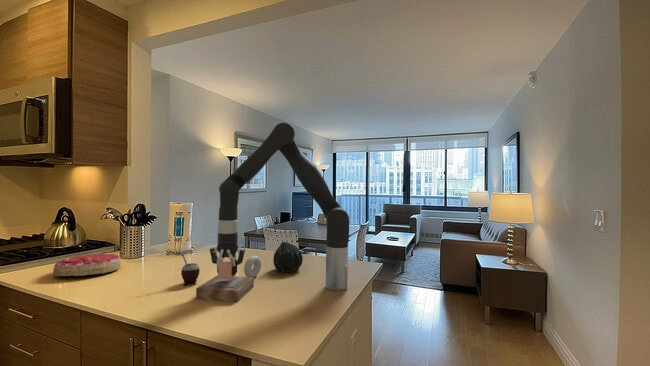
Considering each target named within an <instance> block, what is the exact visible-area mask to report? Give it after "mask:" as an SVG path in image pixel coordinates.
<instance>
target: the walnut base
mask: <svg viewBox="0 0 650 366" xmlns="http://www.w3.org/2000/svg"><path fill="white" fill-rule="evenodd" d="M254 284H255V277H247V276H238V275H236V276H234V277H233V278H232V279H218V274H217V275H215V276H214V277H212V278H211V279H209V280H207V281H206V282H204V283H203V284H202V283H201V285H199V286H198V287H196V288H195V289H196V290H195V300H203V301H215V302H216V301H217V302H218V301H219V302H229V303H230V302H231V303H238V302H239V301H240V300H242V299H243V298H244V297H245V296H246V295H247V294H249V292H250V291H251V290H252V289H253V288H254V287H255V285H254Z"/></svg>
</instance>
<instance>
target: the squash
mask: <svg viewBox="0 0 650 366" xmlns="http://www.w3.org/2000/svg"><path fill="white" fill-rule="evenodd" d="M303 260H304V259H303V254H302V252H301V250H300V249H299V247H298V246H295V245H294V244H292V243H290V242H286V241H282V242H281V243H280V244H279V246H278V247H277V248H276V250H275V252H274V253H273V266H274V268H275V269H276V270H277V271H278V272H282V273H287V272H288V273H293V272H294V271H296V270H299V268H300V267H301V266H302V264H303Z"/></svg>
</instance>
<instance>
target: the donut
mask: <svg viewBox="0 0 650 366" xmlns="http://www.w3.org/2000/svg"><path fill="white" fill-rule="evenodd" d="M261 268H262V261H261V258H260V257H259V256H257V255H251V256H249V257H247V259H246V261H245V263H244V267H243V273H244V275H245V277H254V278H256V277H257V275H259V273H260V271H261Z"/></svg>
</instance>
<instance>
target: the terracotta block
mask: <svg viewBox="0 0 650 366" xmlns="http://www.w3.org/2000/svg"><path fill="white" fill-rule="evenodd" d="M232 266H233V265H232V262H231V261H230V259H223V261H221V262H219V263H218V273H217V275H218V279H232V278H233V277H234V276H237V273H236V274H235V275H234V276H232Z"/></svg>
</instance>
